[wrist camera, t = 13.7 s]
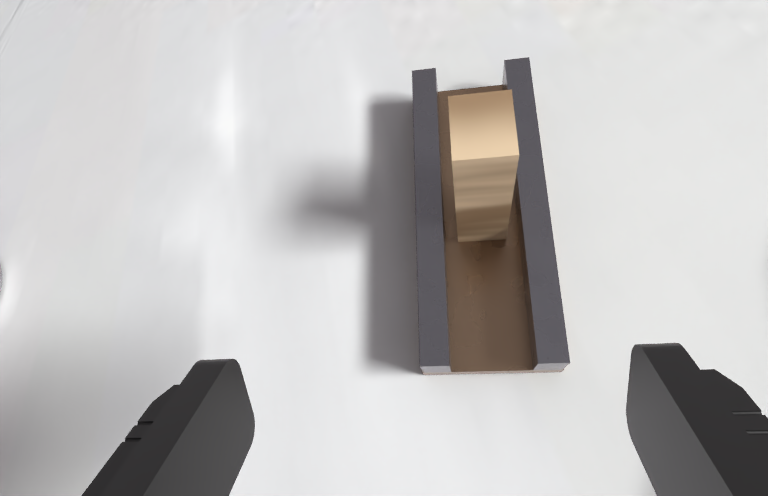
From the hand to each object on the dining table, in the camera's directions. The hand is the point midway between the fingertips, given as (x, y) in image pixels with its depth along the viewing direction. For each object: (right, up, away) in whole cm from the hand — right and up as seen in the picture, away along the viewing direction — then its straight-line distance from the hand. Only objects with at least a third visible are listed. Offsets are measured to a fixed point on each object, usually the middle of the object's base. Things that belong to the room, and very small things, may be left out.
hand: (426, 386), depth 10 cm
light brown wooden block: (+5, +5, +22) cm, 23 cm away
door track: (+6, +5, +23) cm, 24 cm away
